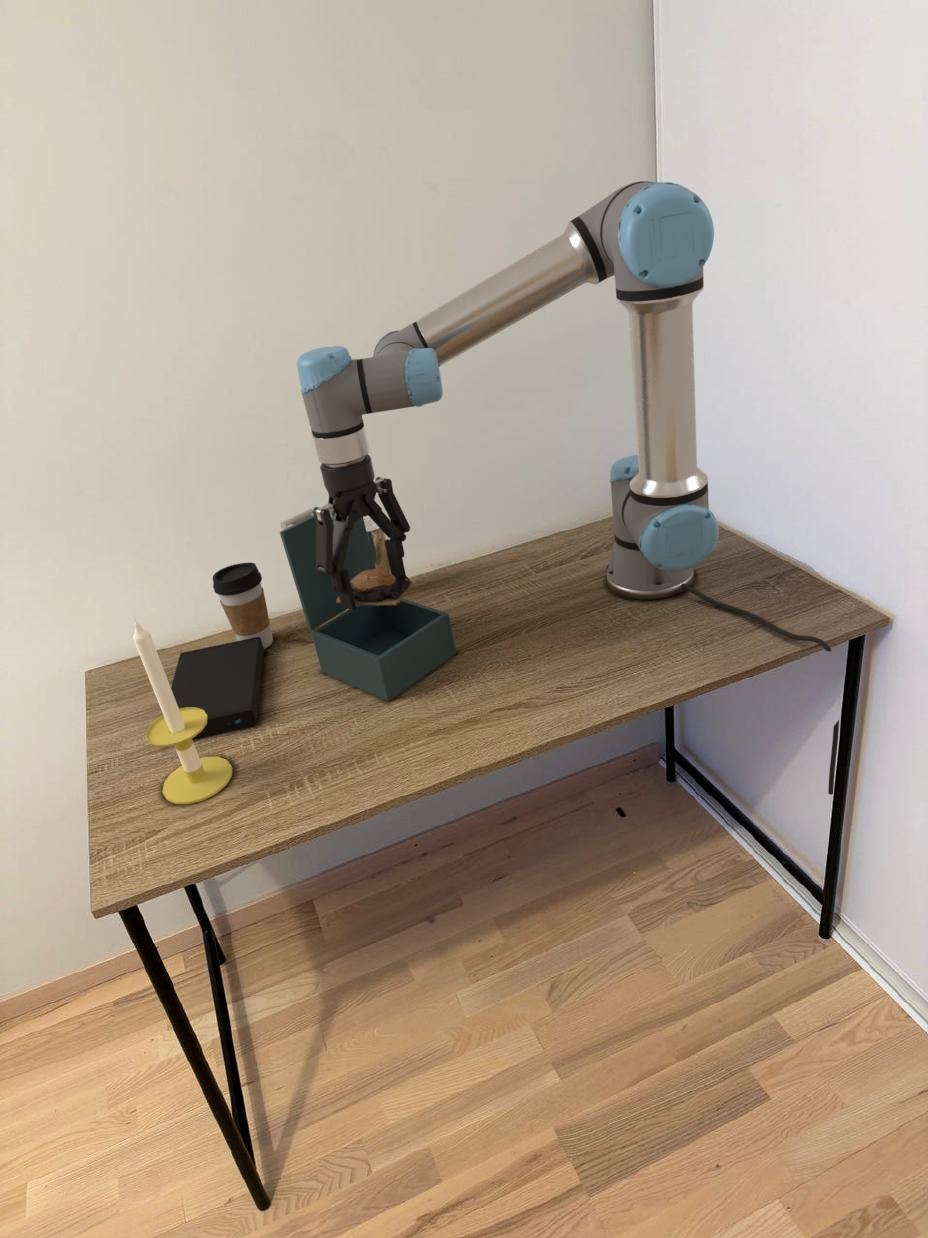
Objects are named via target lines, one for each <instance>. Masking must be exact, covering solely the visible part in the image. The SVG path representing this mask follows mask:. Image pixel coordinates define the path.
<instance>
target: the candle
mask: <svg viewBox="0 0 928 1238" xmlns="http://www.w3.org/2000/svg"><path fill="white" fill-rule="evenodd" d="M132 640H133V642H134V645H135V647H136V649H137V652H138V654H139V655H138V656H139V657H140V660H141V662H142V664H143V667H144V670H145V672H146V675H147V677H148V679H149V682H150V686H151V687H152V690H153V693H154V694H155V698H156V699H157V702H158V705H159V707H160V710H161V712H162V715H160V716H159V717H157V718H156V719H155V720H153V721H152V722H151V723H150V724H149V726H148V727H147V728H146V731H145V739H146V740H147V742H148V744H149V745H151V746H155V747H159V748H160V747H161V748H162V747H163V748H168V747H174V748H175V751H176V754H177V756H178V758H179V759H178V760H179V761H180V764H181V765H180V766H178V767H177V768H176V769H174V771H172V772H171V773H170V774H169V775H168V777H166V779H165V781H164V782H163V786H162V794H163V796H164V797H165V800H166V801H168V802H169V803H173V804H175V805H191V804H196V803H199V802H203V801H205V800H207V799H209V798H211V797H213V796H215V795H217V794H218V793H219V792H221V791H222V790H223V789H224V788H225V787H227V785H228V784H229V782H230V780H231V779H232V777H233V766H232V765H231V763H230V762H229V760H228V759H226V758H223V757H220V756H204V757H200V755H199V754H198V751H197V748H196V745H195V743H194V739H192V738H194V737H195V736H196V735H197V734H199V733H200V732H201V731H202V730H203V729H204V727H205V726H206V724H207V719H208V715H207V714H206V713H205V711H204V710H202V709H199V708H196V707H185V708H181V709H179V708H178V705H177V703H176V700H175V697H174V695H173V692H172V690H171V685H170V682H169V680H168V676H167V674H166V672H165V670H164V667H163V663H162V661H161V659H160V656H159V654H158V651H157V649H156V646H155V644H154V641H153V638H152V636H151V633H150V631H148V630H145V629H144V628H143V627H142V625H140V623H139V621H137V620H136V617H135V618H134V634H133V636H132Z"/></svg>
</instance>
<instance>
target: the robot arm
mask: <svg viewBox="0 0 928 1238" xmlns="http://www.w3.org/2000/svg"><path fill="white" fill-rule="evenodd" d="M714 238H715V227H714V221H713V217H712V215H711V212H710V209H709V208H708V206H707V204H706V203H705V201H704V200H703V199H702V198H700V196H698V194H696V193H695V192H694V191H692V190H690V189H688V188H687V187H685V186H683V185H682V184H679V183H674V182H670V181H667V182H666V181H665V182H662V181H660V182H659V181H658V182H657V181H647V180H646V181H644V180H643V181H641V180H640V181H634V182H631V183H629V184H625V185H623V186H621V187H620V188H618V189H616V190H615V191H613V192H612V193H610V194H609V195H607V196H606V197H605V198H603V199H602V200H600V201H598V202H597V203H596V204H594V205H593V206H591V207H590V208H588V209H587V210H585V211H584V212H582V213H581V214H579V215H577V216H576V217H574V218H573V219H571V220H569V221H567V223H566V225H565V229H564V231H563V233H562V234H560V235H558V236H556V237H555V238H553V239H552V240H549V241H548V242H546V243H545V244H543V245H542V246H540V247H538V248H537V249H535V250H533V251H532V252H530V253H528V254H526V255H525V256H523V257H521V258H520V259H518V260H516V261H514V262H513V263H511V264H509V265H508V266H506V267H504V268H503V269H500V270H499V271H498V272H496V273H494V274H493V275H491V276H490V277H487V278H486V279H484V280H483V281H481V282H478V283H477V284H476V285H474V286H472V287H471V288H469V289H467V290H466V291H464V292H462V293H461V294H458V295H457V296H455V297H454V298H452V299H451V300H450V299H449V301H447V302H445V303H444V304H442V305H440V306H439V307H437V308H435V309H434V310H431V311H430V312H428V313H427V314H425V315H423V316H421V317H420V318H418V319H417V320H415V321H414V322H412V323H410V324H408V325H407V326H405V327H403V328H402V329H400V330H391V331H389V332H387V333H386V334H383V335H382V337H381V338H380V339H379V340H378V342H377V343H376V345H375V347H374V350H373V355H372V356H371V357H370V356H369V357H365V358H354V359H352V356H351V355H350V353H349V350H348V348H347V347H345V346H341V345H333V346H323V347H319V348H315V349H314V348H313V349H311V350H308V351H306V352H304V353H302V354H300V356H299V357H298V359H297V360H296V368H297V374H298V378H299V380H298V381H299V385H300V393H301V396H302V399H303V403H304V407H305V411H306V415H307V418H308V422H309V426H310V430H311V434H312V439H313V443H314V447H315V451H316V455H317V460H318V462H320V466H319V468H320V473H321V477H322V481H323V485H324V488H325V490H326V491H327V493H328V501H327V504H324V505H322V506H321V507H318V506H314V507H313V509H312V510H313V514H314V518H315V521H316V570H317V571H318V572H320V573H323V574H326V575H330V577H331V581H332V585H333V589H334V590H335V591H337V592H338V593H339V597H340V601H341V605H342V607H345V608H348V609H347V610H350V609H351V610H354V609H356V604H355V599H354V595H353V591H352V587H351V583H350V578H349V574H348V571H347V570H344V569H343V566H344V561H345V556H346V551H347V546H348V541H349V536H350V531H351V530H352V529H353V527H354V523H355V522H356V521H358V520H359V519H360V518H361V517H363V518H365V517H368V518H371V519H372V520H373V521H374V522H375V523H376V524H377V526H378V527H379V528H380V529H381V530H382V531H383V532H384V533H385V534H386V535H387V537H388V538H389V539H387V540H385V541H384V542H385V547H386V552H387V556H388V561H389V566H390V570H391V574H392V575H394V576H395V577H396V574H399V573H401V574H403V575H404V576H407V575H406V574H407V573H406V570H405V569H406V568H405V564H404V559H403V558H404V557H405V549H404V543H403V542H405V541H406V540H407V535H406V533H409V532H410V531H411V526H410V523H409V522H408V519H407V518H406V515H405V513H404V512H403V509H402V507H401V505H400V503H399V501H398V499H397V497H396V494H395V493H394V488H393V482H392V480H391V478H388V477H387V478H386V477H381V476H377V477H376V478H375V476H376V475H375V471H374V465H373V461H372V457H371V456H370V455H369V453H370V446H369V441H368V437H367V433H366V428H365V424H364V419H363V415H370V414H376V413H380V412H388V411H389V412H390V411H393V410H400V409H407V408H414V407H418V408H419V407H420V408H421V407H422V406H424V405H428V404H433V403H437V402H439V401H440V400H441V399H442V398H443V395H444V394H443V393H444V392H443V384H442V377H441V372H440V367H441V366H442V365H445V364H446V363H448V362H450V361H452V360H453V359H455V358H456V357H459V356H460V355H461V354H463V353H465V352H467V351H469V350H471V349H473V348H474V347H476V346H478V345H479V344H481V343H483V342H485V341H486V340H488V339H490V338H492V337H493V336H495V335H497V334H498V333H500V332H502V331H504V330H505V329H507V328H509V327H511V326H512V325H515V324H516V323H518V322H519V321H521V320H523V319H525V318H527V317H528V316H530V315H532V314H534V313H535V312H537V311H538V310H540V309H542V308H543V307H545V306H547V305H550V304H551V303H552V302H555V301H556V300H558V299H560V298H561V297H563V296H565V295H566V294H568V293H570V292H572V291H573V290H575V289H577V288H579V287H580V286H583V285H584V284H585V283H589V284H593V285H598V284H600V283H602V282H603V281H605V280H607V279H609V278H611V277H613V276H614V285H615V295H616V297H615V299H616V302H618V303H619V304H620V305H621V306H622V307H624V308H625V309H626V311H627V312H628V323H629V324H628V325H629V338H630V339H629V340H630V353H631V356H630V357H631V369H632V371H631V372H632V386H633V401H634V403H633V404H634V417H635V430H636V431H635V432H636V448H637V454H633V455H629V456H626V457H623V458H619V459H618V460H616V461H615V462H614V463H612V464H611V466H610V471H609V473H610V478H609V483H610V492H611V494H610V495H611V505H612V507H611V509H612V522H613V535H614V536H613V537H614V545H613V548H612V551H611V555H610V559H609V562H608V564H607V566H606V569H605V571H606V583H607V584H606V585H607V586H608V588H609V589H610V590H611V591H612V592H614V593H615V594H617V595H619V596H622V597H624V598H628V599H633V600H642V601H643V600H644V601H645V600H650V601H651V600H661V599H666V598H670V597H673V596H676V595H678V594H681V593H683V592H684V591H688V592H690V593H691V594H693V595H695V596H697V597H698V598H699V599H702V600H703V601H705V602H708V603H710V604H711V605H714V606H716V607H718V608H722V609H725V610H727V611H731V612H734V613H736V614H741V615H743V616H746V617H748V618H750V619H753V620H755V621H757V622H759V623H761V624H762V625H764V626H766V627H767V628H768V629H770V630H772V631H774V632H776V633H778V634H780V635H782V636H784V637H787V638H790V639H792V640H797V641H804V642H805V641H806V642H814V643H816V644H818V645H819V646H821V647H822V648H823V649H824V650H825V651H826V652H832V651H833V650H832V648H831V647H830V646H829V645H828V643H827V642H825V641H824V640H822V639H821V638H818V637H817V636H811V635H801V634H800V635H799V634H794V633H792V632H789V631H786V630H784V629H782V628H780V627H779V626H777V625H775V624H773V623H771V622H770V621H768V620H766V619H764V618H763V617H761V616H759V615H757V614H755V613H752V612H749V611H747V610H744V609H742V608H738V607H735V606H732V605H728V604H725V603H723V602H720V601H718V600H715V599H713V598H711V597H709V596H707V595H706V594H703V592H701V591H699V590H696V589H695V588H693V587H691V586H692V584H693V583H694V580H695V571H694V569H695V568H694V567H696V566H698V565H700V564H701V563H702V562H703V561H704V560H705V559H706V558H707V557H708V556H710V554H712V552H713V551H714V549H715V547H716V545H717V543H718V539H719V535H720V532H719V531H720V529H719V525H718V521H717V518H716V515H715V514H714V513H713V512H712V511H711V510H710V505H709V504H710V503H709V476H708V474H707V473H705V472H704V471H703V470H702V469H701V468H699V466H698V451H697V450H698V448H697V447H698V445H697V415H696V412H697V411H696V384H695V383H696V381H695V347H694V345H695V344H694V343H695V342H694V312H693V311H694V310H693V309H694V308H693V304H694V302H695V300H696V299H697V297H698V296H699V295H700V294H701V293H702V291H703V290H704V288H705V287H704V266H705V264H706V263H707V262H708V260H709V258H710V255H711V252H712V250H713V246H714ZM376 496H378V498H379V500H380V503H381V504H382V506H383V508H384V510H385V512H386V513H385V512H384V511H383V508H382V507H381V505H379V504H378V502H377V501H376V500H375V499H376ZM333 511H334V512H335V514H334V516H333V515H332V513H333ZM386 514H387V515H386ZM333 518H334V519H333ZM332 519H333V523H332ZM342 519H343V520H346V523H344V522H342ZM333 525H334V530H333ZM402 579H403V580H404V579H405V580H406V577H404V578H402ZM839 732H840V719H838V720H837V721H836V723H835V724H834V725H833V731H832V742H831V743H832V744H831V752H830V753H831V754H830V761H829V762H830V764H829V772H828V774H829V776H828V788H827V789H828V791H827V792H828V795H831V796H833V795H834V787H835V786H834V785H835V771H836V763H837V762H836V761H837V755H838V743H839Z"/></svg>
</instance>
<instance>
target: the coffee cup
mask: <svg viewBox="0 0 928 1238" xmlns="http://www.w3.org/2000/svg"><path fill="white" fill-rule="evenodd" d="M262 580H263V576H262V573H261V572H260V571H259V569H258V567H257V564H256V563H254V562H240V563H234V564H231V565H227V566H225V567H223V568H221V569H219V570H218V571H216V572H215V573H214V574H213V575H212V583H213V584H212V588H213V591H214V593H215V594H216V595H218V598H219V602H220V605H221V607H222V609H223V611H224V613H225V615H226V616H225V617H226V618H227V621H228V622H229V625H230V627H231V629H232V631H233V633H234V635H235V638H236V640H237V641H241V640H246V639H250V638H255V637H260V638H261V641H262V645H263V648H264V650H265V649H267V648H268V647H270V646H271V645H272V644H273V642H274V637H273V632H272V627H271V621H270V618H269V617H270V616H269V612H268V606H267V602H266V595H265V591H264V588H263V586H262Z"/></svg>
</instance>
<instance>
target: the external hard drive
mask: <svg viewBox="0 0 928 1238" xmlns="http://www.w3.org/2000/svg"><path fill="white" fill-rule="evenodd" d="M264 654H265V649H264V648H263V645H262V641H261V638H260V637H255V638H250V639H246V640H241V641H238V640H237V641H231V642H226V643H221V644H217V645H213V646H208V647H203V648H198V649H194V650H193V649H192V650H188V651H184V652H180V653H179V657H178V661H177V664H176V667H175V673H174V675H173V679H172V682H171V685H170V687H171V690H172V692H173V695H174V697H175V700H176V703H177V705H178V708H179V709H181V708H185V707H196V708H199V709H202V710H204V711H205V713H206V714H207V715H208V719H207V724H206V726H205V727H204V729H203V730H202V731H201V732H200V733H199V734H197V735H196V736H195V737H194V738H192V740H196V739H201V738H205V737H209V736H215V735H219V734H224V733H229V732H232V731H238V730H242V729H248V728H252V727H256V726H258V725H257V724H258V714H259V704H260V696H261V695H260V694H261V684H262V675H263V674H262V673H263V666H264V665H263V663H264Z"/></svg>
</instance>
